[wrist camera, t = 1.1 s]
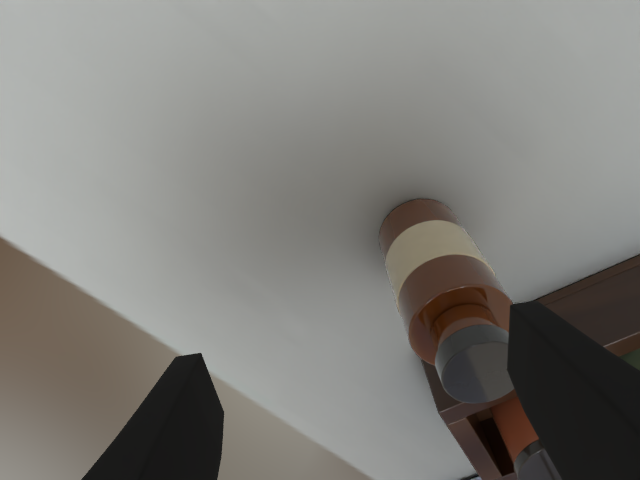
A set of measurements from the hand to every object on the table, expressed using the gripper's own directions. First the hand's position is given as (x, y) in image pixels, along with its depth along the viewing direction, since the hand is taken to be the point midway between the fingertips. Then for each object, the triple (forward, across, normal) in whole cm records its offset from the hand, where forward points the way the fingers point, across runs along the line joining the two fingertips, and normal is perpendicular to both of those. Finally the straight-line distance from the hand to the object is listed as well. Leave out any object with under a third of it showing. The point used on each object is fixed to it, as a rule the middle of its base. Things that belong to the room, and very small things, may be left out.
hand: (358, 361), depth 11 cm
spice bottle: (+10, -4, +3) cm, 11 cm away
